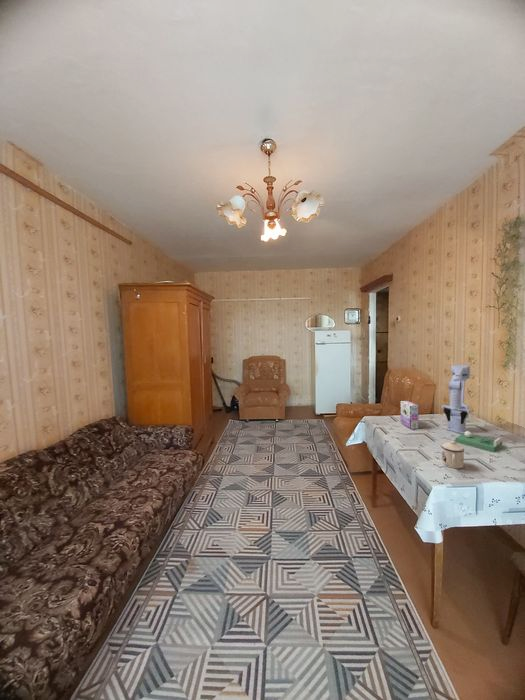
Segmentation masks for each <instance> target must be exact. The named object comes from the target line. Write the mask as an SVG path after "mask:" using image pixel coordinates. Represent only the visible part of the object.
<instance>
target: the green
mask: <svg viewBox="0 0 525 700" xmlns="http://www.w3.org/2000/svg"><path fill="white" fill-rule="evenodd" d="M454 442H455V443H456V444H459V445H460V444H462V445H464V446H469V447H473V448H477V449H480V450H484V451H486V452H487V451H488V452H492V453H495V452H496V451H498V450H500V449H501V447H503V441H502V440H501V437H498V438H496V439H493V438H490V437H485V436H480V435H476V434H472V436H471V437H466V436H465V435H464V433H463V434H462V433H461V434H459V435H458V436H456V437H455V438H454Z"/></svg>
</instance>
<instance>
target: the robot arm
mask: <svg viewBox="0 0 525 700" xmlns="http://www.w3.org/2000/svg"><path fill="white" fill-rule="evenodd" d="M451 374H452V376H451V380H449V381H448V391H449V405H446V404H442V405H441V409H443V410H442V411H443V413H444V414H445V416H446V420H447V429H446V431H450V432H454V433H459V434H461V435H462V434H463V433H465V432H466V431H469V430H467V428H466V427H467V420H466V419H468V418H469V414H470V413H471V409H469V406H468V405H467V404H466V403H465V402H464V401H465V399H464V398H465V388H466V387H465V386H466V381H467V380H468V379H470V376H471V365H469V364H452V365H451Z"/></svg>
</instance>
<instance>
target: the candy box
mask: <svg viewBox="0 0 525 700" xmlns="http://www.w3.org/2000/svg"><path fill="white" fill-rule="evenodd" d="M399 404H400V424H401V423H402V425H403V424H404V425H403V426H405V428H407V429H409V430H419V429H420V428H419V404H416V403H414V402H411V401H409V400H400V403H399Z"/></svg>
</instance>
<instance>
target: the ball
mask: <svg viewBox="0 0 525 700" xmlns="http://www.w3.org/2000/svg"><path fill="white" fill-rule="evenodd" d="M464 435H465V436H466V437H471V436H472V435H473V433H472V432H470V431H469V430H468V431H466V432H465V433H464Z"/></svg>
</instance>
